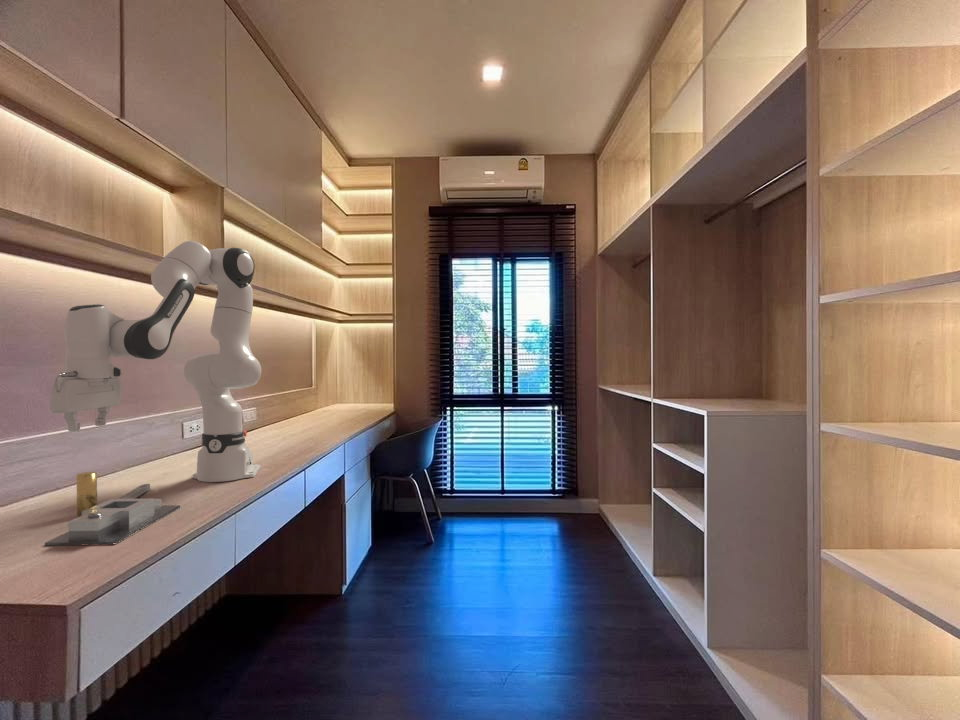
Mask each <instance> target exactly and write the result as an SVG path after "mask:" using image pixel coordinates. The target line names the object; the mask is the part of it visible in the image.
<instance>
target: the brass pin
mask: <svg viewBox="0 0 960 720" xmlns="http://www.w3.org/2000/svg"><path fill="white" fill-rule="evenodd" d="M96 505H98V472H97V471H85V472H79V473H77V474H76V517H77V516H78V517H80V516H82V511H84V510H87V509H89V508H91V507H94V506H96Z"/></svg>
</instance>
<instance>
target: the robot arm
mask: <svg viewBox="0 0 960 720" xmlns="http://www.w3.org/2000/svg"><path fill="white" fill-rule="evenodd" d="M255 266H256V265H255V260H254V259H253V256H252V255H251V254H250V252H249V251H247V250H246V249H243V248H240V247H230V248H229V247H228V248H225V247H222V248H220V247H219V248H213V249H208V248H207V246H205V245H203V244H202V243H200V242H198V241H194V240H186V241H184V242H182V243H180V244H178V246H175V248H173V249H171V250H170V251H169V253H167V254H166V255H165V256H164V257H163V258H162V259H161V260H160V261H159V263H158V264H156V266H155V267H154V269H153V270H152V273H151V275H150V279H151V284H152V286H153V288H154V289H155V291H156V292H157V293H158V294H159V295H160V296H162V297H163V298H162V299H161V301H160V302H159V304H158V306H157V307H156V309H155V310H154V312H153V313H152V314H151V315H149V316H147V317H145V318H141V319H140V318H139V319H128V320H127V319H125V318H122V317H120V316H118V315H116V314H114V313H113V312H111V311H110V310H109V309H108V308H107V306H106V305H104V304H98V303H97V304H83V305H81V304H80V305H75V306H72V307H71V308H70V309H69V310H68V311H67V314H66V317H65V325H64V342H65V345H66V352H65V356H64V371H62V372H60V373H59V374H57V376H56V377H55V378H54V382H53V384H52V385H51V392H50V399H49V400H50V401H49V409H50V410H51V412H52V413H53V414H63V418H64V420H65V422H66V423H67V431H68V432H77V431H80V430H81V423H80V422H79V421H78V419H77V416H78V412H82V411H87V410H88V411H89V410H95V409H96V410H97V412H98V414H97V417H96V418H95V419H94V422H95V423H94V425H95V426H97V427H103V426H106V425H107V419H108V416H109V414H110V407H116V406H117V407H118V406H119V404H120V403H121V400H122V380H121V378H122V377H123V369H122V368H119V367H118V366H116V365H114V364H112V363H111V358H110V357H112V358H129V359H130V358H131V359H134V358H135V359H137V358H138V359H144V360H156V359H158V358H160V357H162V356H163V355H165V354H166V352H167V351H168V349H169V348H170V345H171V341H172V338H173V335H174V333H175V331H176V329H177V327H178V325H179V324H180V322H181V320H182V319H183V317H184V316H185V314H186V312H187V311H188V309H189V307H190V306H191V304H192V302H193V300H194V298H195V297H194V296H195V292H196V291H195V289H196V287H198V285H201V286H209V285H211V286H212V285H213V286H216V288H217V293H218V294H217V296H216V301H215V306H214V310H213V316H212V319H211V320H212V321H211V326H210V333H211V335H212V337H213V338H214V339H215V340H216V341H217V342H218V344H219V345H218V346H219V353H204V354H199V355H195V356H192V357H190V358H188V360H187V361H186V362H185V364H184V366H183V367H184V368H183V374H184V378H185V381H187V383H189V384H190V386H192V387H193V389H194V390H195V392H196V394H197V396H198V398H199V402H200V404H201V408H202V421H203V422H202V423H203V433H202V434H201V445H202V448H200V449H199V450H198V452H197V457H196V460H197V461H196V472H195V473H193V474H192V475H191V478H192V479H197V480H198V481H199V482H203V483H204V482H205V483H207V482H209V483H217V482H218V483H219V482H230V481H237V480H242V479H248V478H254V477H255V476H256V474H257V473H258V472H259V471H260V469H261V467H262V466H261V464H257V463H254V452H253V450H251V449H250V448H249V446H248V445H247V444H246V438H245V437H247V435H248V433H247V432H248V431H247V430H243V409H242V406H241V404H240V403H238V402H237V401H236V400H235V399H234V398H233V396H232V393H231V391H230V390H241V389H246V388H251V387H253V386H255V385H257V384H258V382H259V381H260V379H261V377H262V366H261V363H260V361H259V360H258V359H257V357H255V355H254V354H253V352H252V349H251V345H250V338H249V337H250V330H251V329H250V328H251V321H252V317H253V307H254V306H253V305H254V292H253V291H254V290H253V287H252V285H251V283H252V280H253V277H254V273H255Z"/></svg>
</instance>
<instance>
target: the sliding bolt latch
mask: <svg viewBox="0 0 960 720" xmlns="http://www.w3.org/2000/svg"><path fill="white" fill-rule="evenodd" d="M162 503H163V502H162V498H153V497H152V498H150V497H149V498H135V499H119V498H110V499H108V500H105V501H103V502H100V503H99V504H98V503H97V505H96V506H94V507H91V508H89V509H87V510H84V511H82V516H80V517H77V516H76V517H75V518H73V519H71V520H68V531H67V532H65V533H63V534H61V535H59V536H56V537H54V538H52V539H50V540H47V541H46V542H44V546H46V547H47V546H48V547H50V546H51V547H52V546H53V547H55V546H59V545H60V546H81V545H80V544H113V543H117V542H119V541H121V540H123V539H124V538H126V537H128V536H129V535H131V534H133V533H135V532H136V531H138V530H140V529H141V528H143V527H145V526H147V525H149V524H151V523H152V524H154V523H155V522H154V521H156V520H158V519H159V520H161V519H163V518H164V516H165V515H166V516H168V515H170V514H172V513H173V512H175V511H177V510H179V509H180V508H181V505H179V504H178V505H176V504H175V505H172V504H171V505H170V504H169V505H162ZM178 508H179V509H178ZM176 509H177V510H176ZM171 512H172V513H171ZM169 513H170V514H169ZM167 514H168V515H167ZM166 516H165V517H166ZM162 517H163V518H162ZM160 518H161V519H160ZM159 520H158V521H159ZM153 522H154V523H153ZM156 522H157V521H156ZM152 524H151V525H152ZM149 526H150V525H149ZM147 527H148V526H147ZM145 528H146V527H145ZM140 531H141V530H140ZM138 532H139V531H138ZM135 534H136V533H135ZM133 535H134V534H133ZM131 536H132V535H131ZM128 538H129V537H128ZM126 539H127V538H126ZM124 540H125V539H124ZM124 540H123V541H124ZM121 542H122V541H121ZM119 543H120V542H119ZM117 544H118V543H117Z"/></svg>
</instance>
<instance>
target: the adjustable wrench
mask: <svg viewBox="0 0 960 720" xmlns="http://www.w3.org/2000/svg"><path fill="white" fill-rule="evenodd" d="M150 489H151V484H150V483H145V484H141V485H139V486H136V487H135V488H134V489H132V490H131V491H129V492H127V493H126V494H124V495H122V496H121V497H120V498H118V499H138V497H140V496H141V495H144V494H145V493H146V492H148V491H149V490H150Z"/></svg>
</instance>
